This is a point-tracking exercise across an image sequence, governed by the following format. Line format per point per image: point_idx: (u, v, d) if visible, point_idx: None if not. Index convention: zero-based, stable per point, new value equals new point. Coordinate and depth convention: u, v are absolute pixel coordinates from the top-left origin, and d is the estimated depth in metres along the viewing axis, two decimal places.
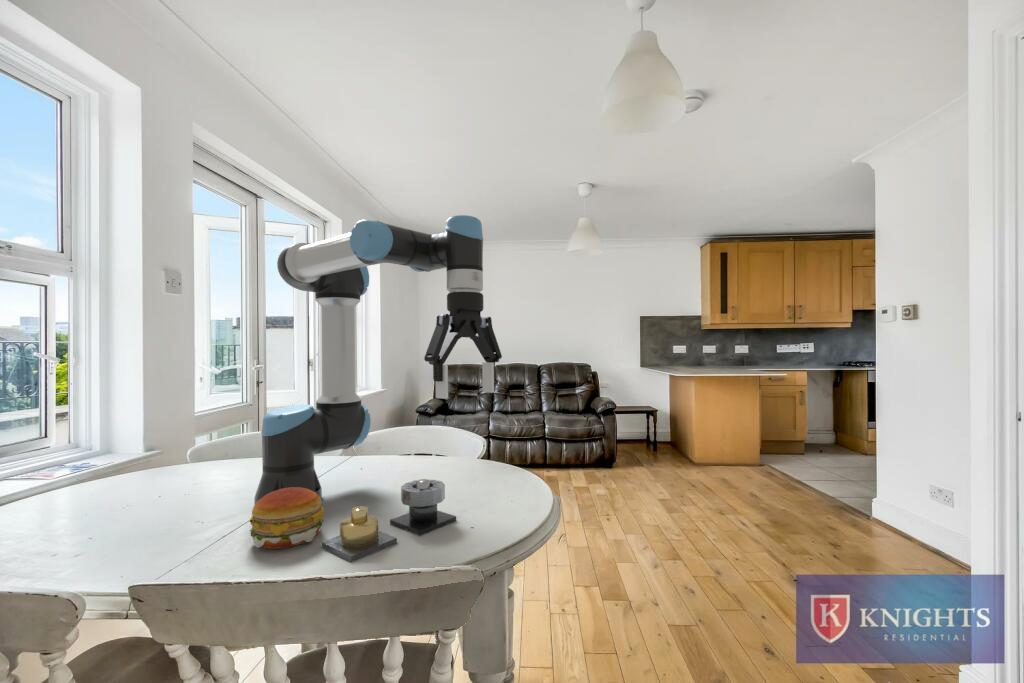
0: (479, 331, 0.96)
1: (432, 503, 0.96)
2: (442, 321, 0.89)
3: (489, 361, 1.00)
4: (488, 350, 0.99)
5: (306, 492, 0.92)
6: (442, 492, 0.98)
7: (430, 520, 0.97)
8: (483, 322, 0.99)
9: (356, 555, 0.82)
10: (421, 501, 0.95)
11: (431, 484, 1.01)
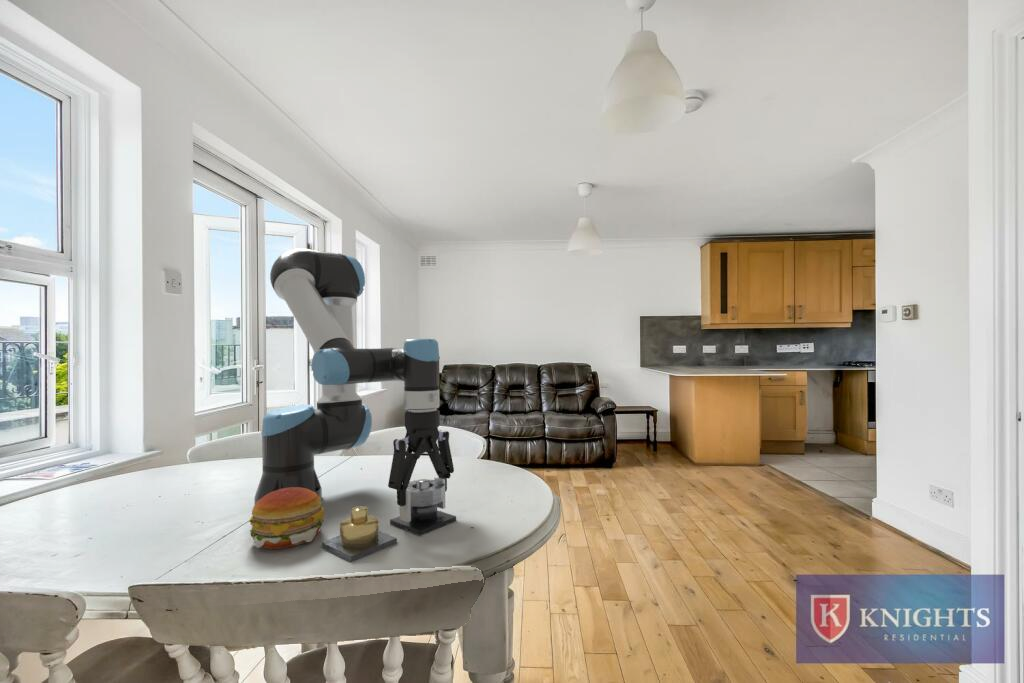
0: (434, 447, 1.00)
1: (432, 503, 0.96)
2: (399, 448, 0.94)
3: (441, 477, 1.04)
4: (441, 466, 1.02)
5: (306, 492, 0.92)
6: (442, 492, 0.99)
7: (430, 520, 0.97)
8: (440, 436, 1.03)
9: (356, 555, 0.82)
10: (421, 501, 0.95)
11: (431, 484, 1.01)
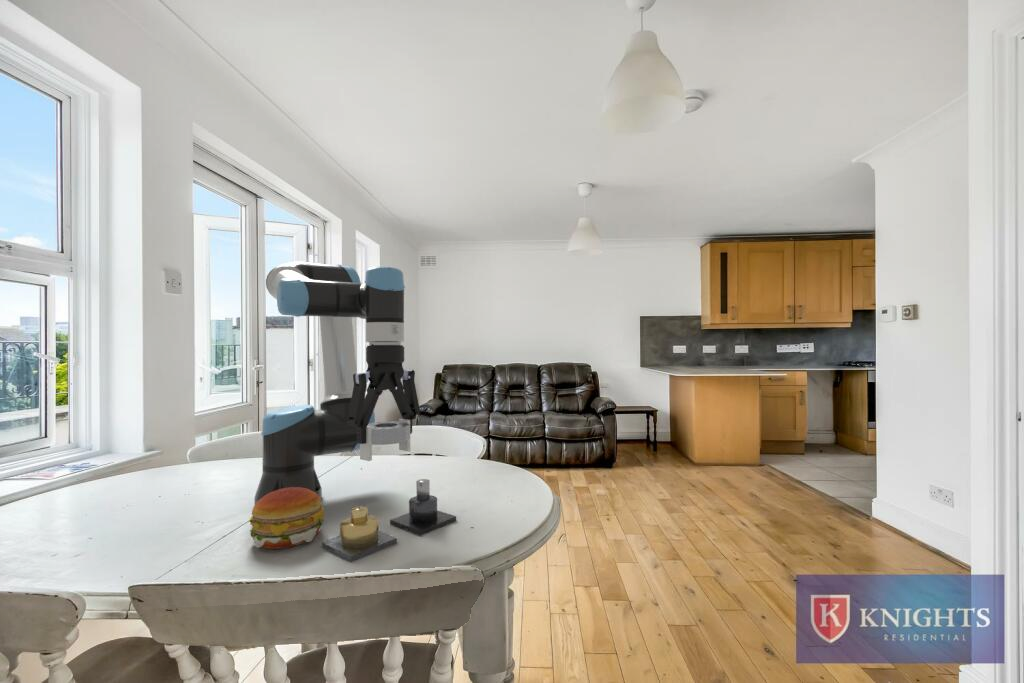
0: (398, 384, 0.94)
1: (395, 441, 0.90)
2: (359, 381, 0.88)
3: (406, 418, 0.97)
4: (406, 406, 0.96)
5: (306, 492, 0.92)
6: (407, 431, 0.92)
7: (430, 520, 0.97)
8: (405, 374, 0.97)
9: (356, 555, 0.82)
10: (384, 438, 0.89)
11: (395, 424, 0.95)
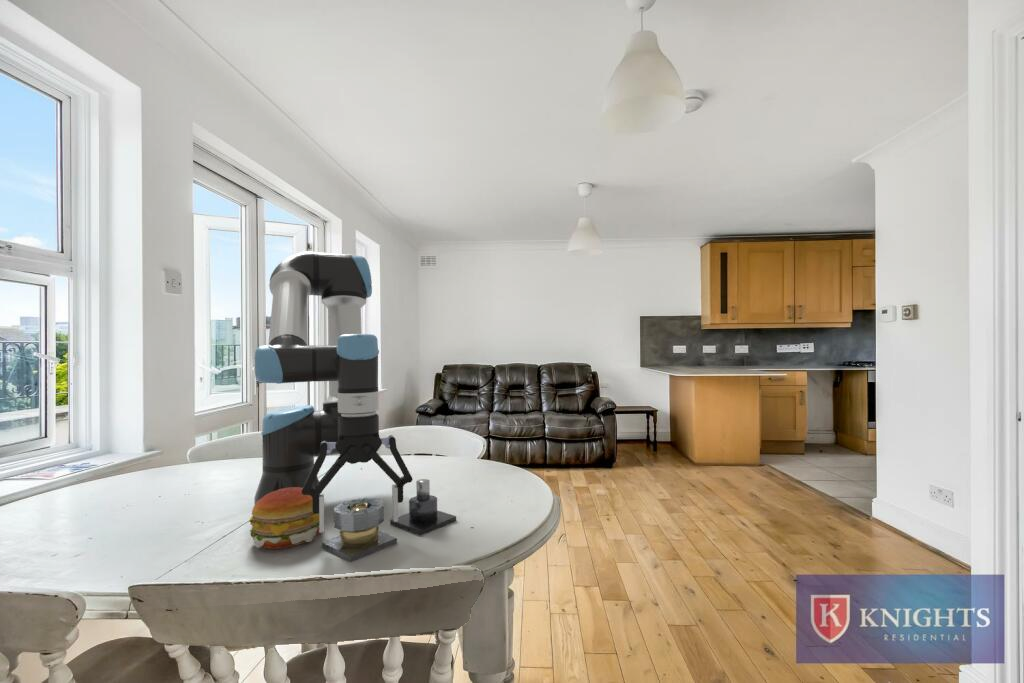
0: (372, 456, 0.88)
1: (353, 529, 0.84)
2: None
3: (396, 485, 0.91)
4: (389, 475, 0.90)
5: None
6: (371, 518, 0.85)
7: (430, 520, 0.97)
8: (385, 443, 0.90)
9: (356, 555, 0.82)
10: (341, 524, 0.84)
11: None
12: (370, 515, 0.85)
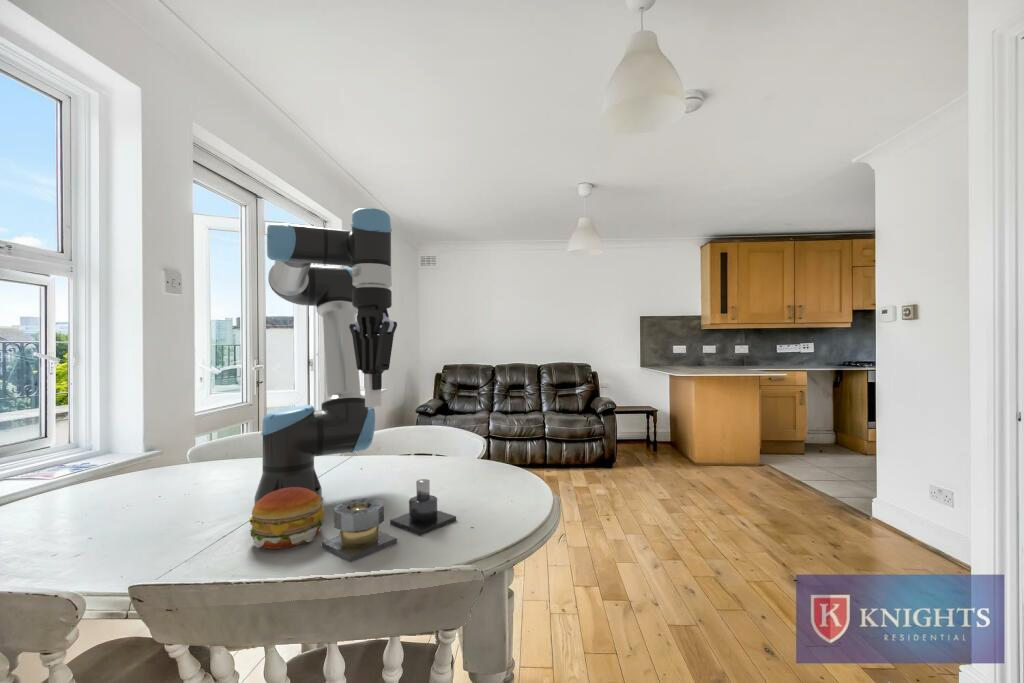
0: (368, 329, 0.90)
1: (353, 529, 0.84)
2: None
3: None
4: (370, 356, 0.90)
5: (306, 492, 0.92)
6: (371, 518, 0.85)
7: (430, 520, 0.97)
8: None
9: (356, 555, 0.82)
10: (341, 524, 0.84)
11: None
12: (370, 515, 0.85)
